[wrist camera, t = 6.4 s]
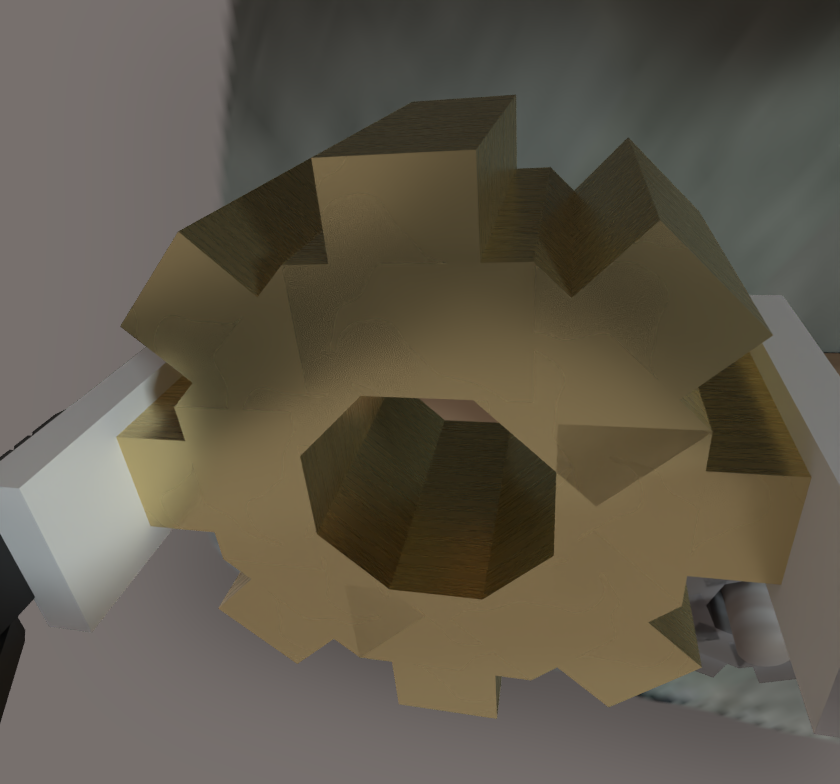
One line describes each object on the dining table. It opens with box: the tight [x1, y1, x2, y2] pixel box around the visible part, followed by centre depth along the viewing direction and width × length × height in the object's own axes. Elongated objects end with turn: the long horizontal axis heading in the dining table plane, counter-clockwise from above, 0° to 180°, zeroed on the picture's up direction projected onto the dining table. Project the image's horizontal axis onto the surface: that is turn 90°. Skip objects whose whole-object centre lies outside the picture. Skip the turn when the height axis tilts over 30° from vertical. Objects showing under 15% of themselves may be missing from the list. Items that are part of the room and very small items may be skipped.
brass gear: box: [116, 95, 812, 719], centre depth 11 cm, size 10×10×5 cm
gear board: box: [419, 353, 840, 683], centre depth 31 cm, size 18×26×9 cm
